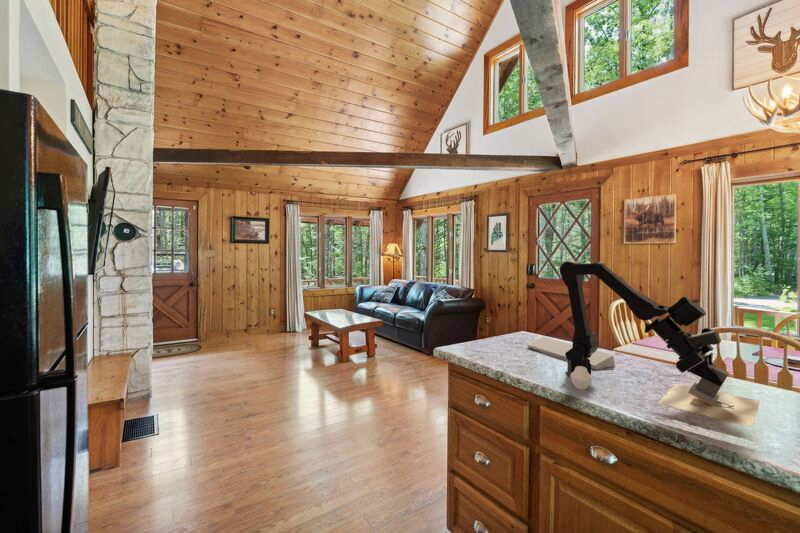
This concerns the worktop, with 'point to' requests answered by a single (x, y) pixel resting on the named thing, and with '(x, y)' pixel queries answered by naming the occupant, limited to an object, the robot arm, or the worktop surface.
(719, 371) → the grey stepped block
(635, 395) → the worktop surface
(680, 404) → the birch board
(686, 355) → the robot arm
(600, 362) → the decorative molding
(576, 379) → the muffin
